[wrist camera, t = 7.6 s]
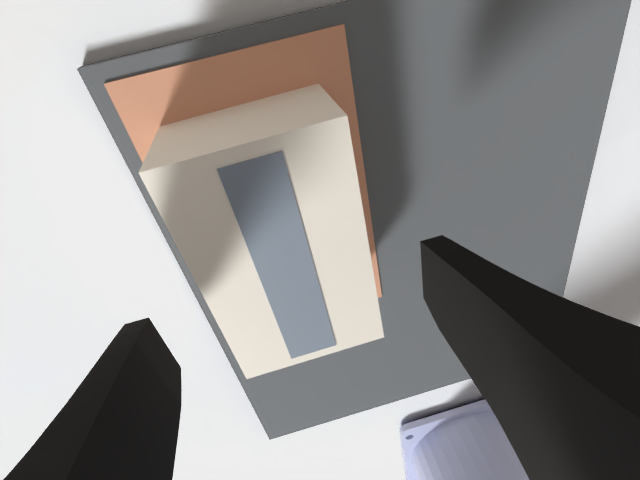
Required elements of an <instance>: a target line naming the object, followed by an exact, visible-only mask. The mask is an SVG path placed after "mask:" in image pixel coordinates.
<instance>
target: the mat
mask: <svg viewBox="0 0 640 480" xmlns="http://www.w3.org/2000/svg"><path fill="white" fill-rule="evenodd" d="M630 4H631V0H350V1H346V2H342V3H338V4H334V5H329V6H325V7H321V8H317V9H313V10H309V11H305V12H301V13H297V14H293V15H289V16H285V17H280V18H276V19H272V20H268V21H264V22H260V23H256V24H252V25H248V26H244V27H240V28H236V29H232V30H227V31H223V32H219V33H215V34H211V35H207V36H203V37H199V38H195V39H191V40H187V41H183V42H178V43H174V44H170V45H166V46H162V47H158V48H154V49H150V50H146V51H142V52H138V53H134V54H129V55H125V56H121V57H117V58H113V59H109V60H105V61H101V62H97V63H93V64H89V65H85V66H81V67H79V68H78V69H77V70H78V71H79V73H80V75H81V77H82V79H83V81H84V83H85V85H86V87H87V89H88V91H89V93H90V95H91V96H92V98H93V100H94V102H95V104H96V106H97V108H98V110H99V112H100V114H101V116H102V118H103V120H104V121H105V123H106V125H107V127H108V129H109V131H110V133H111V135H112V137H113V139H114V141H115V143H116V145H117V146H118V148H119V150H120V152H121V154H122V156H123V158H124V160H125V162H126V164H127V166H128V168H129V170H130V172H131V173H132V175H133V177H134V179H135V181H136V183H137V185H138V187H139V189H140V191H141V193H142V195H143V197H144V198H145V200H146V202H147V204H148V206H149V208H150V210H151V212H152V214H153V216H154V218H155V220H156V222H157V223H158V225H159V227H160V229H161V231H162V233H163V235H164V237H165V239H166V241H167V243H168V245H169V247H170V248H171V250H172V252H173V254H174V256H175V258H176V260H177V262H178V264H179V266H180V268H181V270H182V272H183V273H184V275H185V277H186V279H187V281H188V283H189V285H190V287H191V289H192V291H193V293H194V295H195V297H196V299H197V300H198V302H199V304H200V306H201V308H202V310H203V312H204V314H205V316H206V318H207V320H208V322H209V324H210V325H211V327H212V329H213V331H214V333H215V335H216V337H217V339H218V341H219V343H220V345H221V347H222V349H223V350H224V352H225V354H226V356H227V358H228V360H229V362H230V364H231V366H232V368H233V370H234V372H235V374H236V375H237V377H238V379H239V381H240V383H241V385H242V387H243V389H244V391H245V393H246V395H247V397H248V399H249V401H250V402H251V404H252V406H253V408H254V410H255V412H256V414H257V416H258V418H259V420H260V422H261V424H262V426H263V427H264V429H265V431H266V433H267V435H268V437H269V439H273V438H277V437H280V436H283V435H287V434H290V433H293V432H296V431H300V430H303V429H306V428H309V427H313V426H316V425H319V424H323V423H326V422H329V421H332V420H336V419H339V418H342V417H346V416H349V415H352V414H355V413H359V412H362V411H365V410H368V409H372V408H375V407H378V406H382V405H385V404H388V403H391V402H395V401H398V400H401V399H405V398H408V397H411V396H414V395H418V394H421V393H424V392H427V391H431V390H434V389H437V388H441V387H444V386H447V385H450V384H454V383H457V382H460V381H464V380H467V379H470V378H471V377H470V376H469V374H468V373H467V371H466V370H465V368H464V367H463V365H462V364H461V362H460V361H459V359H458V358H457V356H456V355H455V353H454V352H453V350H452V349H451V347H450V346H449V344H448V342H447V341H446V339H445V338H444V336H443V335H442V333H441V332H440V330H439V328H438V326H437V324H436V322H435V320H434V318H433V317H432V315H431V312H430V310H429V308H428V306H427V304H426V302H425V300H424V298H423V283H422V265H421V247H420V241H423V240H426V239H430V238H433V237H437V236H440V235H443V236H445V237H447V238H449V239H451V240H452V241H454V242H456V243H458V244H459V245H461V246H463V247H465V248H467V249H468V250H470V251H472V252H474V253H475V254H477V255H479V256H481V257H483V258H484V259H486V260H488V261H490V262H492V263H493V264H495V265H497V266H499V267H501V268H503V269H505V270H507V271H508V272H510V273H512V274H514V275H516V276H518V277H520V278H522V279H524V280H526V281H528V282H530V283H532V284H534V285H537V286H539V287H541V288H543V289H545V290H547V291H549V292H552V293H554V294H556V295H558V296H560V297H563V294H564V290H565V286H566V281H567V277H568V273H569V268H570V264H571V260H572V255H573V251H574V247H575V242H576V238H577V234H578V229H579V225H580V221H581V216H582V212H583V208H584V203H585V199H586V195H587V190H588V186H589V182H590V177H591V173H592V169H593V164H594V160H595V156H596V151H597V147H598V143H599V138H600V134H601V130H602V125H603V121H604V117H605V112H606V108H607V104H608V99H609V95H610V91H611V86H612V82H613V78H614V73H615V69H616V65H617V60H618V56H619V52H620V47H621V43H622V39H623V34H624V30H625V26H626V21H627V17H628V13H629V9H630ZM318 83H319V85H320V86H321V87H322V88H323V89H324V90H325V91H326V92H327V93H328V94H329V96H330V97H331V98H332V99H333V100H334V101H335V102H336V103H337V104H338V106H339V107H340V108H341V109H342V110H343V111H344V112H345V113H346V114H347V116H348V122H349V128H350V134H351V140H352V146H353V152H354V158H355V164H356V170H357V176H358V182H359V188H360V194H361V200H362V206H363V212H364V219H365V225H366V231H367V237H368V243H369V249H370V255H371V261H372V267H373V273H374V279H375V285H376V291H377V297H378V303H379V309H380V315H381V321H382V327H383V333H384V338H380V339H377V340H374V341H371V342H367V343H364V344H361V345H358V346H354V347H351V348H348V349H344V350H341V351H338V352H335V353H331V354H328V355H325V356H321V357H318V358H315V359H312V360H308V361H305V362H302V363H298V364H295V365H292V366H289V367H285V368H282V369H279V370H275V371H272V372H269V373H266V374H262V375H259V376H256V377H253V378H249V379H246V377H245V375H244V373H243V371H242V369H241V368H240V366H239V364H238V362H237V360H236V358H235V356H234V354H233V352H232V350H231V349H230V347H229V345H228V343H227V341H226V339H225V337H224V335H223V333H222V331H221V329H220V328H219V326H218V324H217V322H216V320H215V318H214V316H213V314H212V312H211V310H210V308H209V307H208V305H207V303H206V301H205V299H204V297H203V295H202V293H201V291H200V289H199V288H198V286H197V284H196V282H195V280H194V278H193V276H192V274H191V272H190V270H189V268H188V267H187V265H186V263H185V261H184V259H183V257H182V255H181V253H180V251H179V249H178V247H177V246H176V244H175V242H174V240H173V238H172V236H171V234H170V232H169V230H168V228H167V227H166V225H165V223H164V221H163V219H162V217H161V215H160V213H159V211H158V209H157V207H156V206H155V204H154V202H153V200H152V198H151V196H150V194H149V192H148V190H147V188H146V186H145V185H144V183H143V181H142V179H141V177H140V175H139V170H140V168H141V166H142V164H143V162H144V159H145V157H146V155H147V153H148V151H149V148H150V146H151V144H152V142H153V140H154V137H155V135H156V133H157V131H158V129H159V126H163V125H167V124H170V123H174V122H178V121H181V120H185V119H189V118H192V117H196V116H200V115H204V114H207V113H211V112H215V111H218V110H222V109H226V108H229V107H233V106H237V105H240V104H244V103H248V102H252V101H255V100H259V99H263V98H266V97H270V96H274V95H277V94H281V93H285V92H289V91H292V90H296V89H300V88H303V87H307V86H311V85H314V84H318Z"/></svg>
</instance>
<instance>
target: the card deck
mask: <svg viewBox="0 0 640 480" xmlns="http://www.w3.org/2000/svg"><path fill="white" fill-rule="evenodd" d="M139 175H140V177H141V179H142V181H143V183H144V185H145V186H146V188H147V190H148V192H149V194H150V196H151V198H152V200H153V202H154V204H155V206H156V207H157V209H158V211H159V213H160V215H161V217H162V219H163V221H164V223H165V225H166V227H167V228H168V230H169V232H170V234H171V236H172V238H173V240H174V242H175V244H176V246H177V247H178V249H179V251H180V253H181V255H182V257H183V259H184V261H185V263H186V265H187V267H188V268H189V270H190V272H191V274H192V276H193V278H194V280H195V282H196V284H197V286H198V288H199V289H200V291H201V293H202V295H203V297H204V299H205V301H206V303H207V305H208V307H209V308H210V310H211V312H212V314H213V316H214V318H215V320H216V322H217V324H218V326H219V328H220V329H221V331H222V333H223V335H224V337H225V339H226V341H227V343H228V345H229V347H230V349H231V350H232V352H233V354H234V356H235V358H236V360H237V362H238V364H239V366H240V368H241V369H242V371H243V373H244V375H245V377H246V379H249V378H253V377H256V376H259V375H262V374H266V373H269V372H272V371H275V370H279V369H282V368H285V367H289V366H292V365H295V364H298V363H302V362H305V361H308V360H312V359H315V358H318V357H321V356H325V355H328V354H331V353H335V352H338V351H341V350H344V349H348V348H351V347H354V346H358V345H361V344H364V343H367V342H371V341H374V340H377V339H380V338H384V333H383V327H382V321H381V315H380V309H379V303H378V297H377V291H376V285H375V279H374V273H373V267H372V261H371V255H370V249H369V243H368V237H367V231H366V225H365V219H364V212H363V206H362V200H361V194H360V188H359V182H358V176H357V170H356V164H355V158H354V152H353V146H352V140H351V134H350V128H349V122H348V116H347V114H346V113H345V112H344V111H343V110H342V109H341V108H340V107H339V106H338V104H337V103H336V102H335V101H334V100H333V99H332V98H331V97H330V96H329V94H328V93H327V92H326V91H325V90H324V89H323V88H322V87H321V86H320V85H319V83H318V84H314V85H311V86H307V87H303V88H300V89H296V90H292V91H289V92H285V93H281V94H277V95H274V96H270V97H266V98H263V99H259V100H255V101H252V102H248V103H244V104H240V105H237V106H233V107H229V108H226V109H222V110H218V111H215V112H211V113H207V114H204V115H200V116H196V117H192V118H189V119H185V120H181V121H178V122H174V123H170V124H167V125H163V126H159V129H158V131H157V133H156V135H155V137H154V140H153V142H152V144H151V146H150V148H149V151H148V153H147V155H146V157H145V159H144V162H143V164H142V166H141V168H140V170H139Z"/></svg>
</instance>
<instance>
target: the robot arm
mask: <svg viewBox="0 0 640 480" xmlns="http://www.w3.org/2000/svg"><path fill="white" fill-rule="evenodd" d="M420 247H421V265H422V283H423V298H424V300H425V302H426V304H427V306H428V308H429V310H430V312H431V315H432V317H433V318H434V320H435V322H436V324H437V326H438V328H439V330H440V332H441V333H442V335H443V336H444V338H445V339H446V341H447V342H448V344H449V346H450V347H451V349H452V350H453V352H454V353H455V355H456V356H457V358H458V359H459V361H460V362H461V364H462V365H463V367H464V368H465V370H466V371H467V373H468V374H469V376H470V377H471V379H472V380H473V382H474V383H475V385H476V386H477V388H478V389H479V391H480V392H481V394H482V395H483V397H484V398H485V399H484V400H481V401H477V402H474V403H471V404H468V405H464V406H461V407H458V408H455V409H451V410H448V411H445V412H442V413H438V414H435V415H432V416H429V417H425V418H422V419H419V420H416V421H413V422H409V423H406V424H404V425H402V426H401V428H400V436H401V444H402V451H403V458H404V465H405V472H406V479H407V480H640V327H639V326H636V325H633V324H630V323H627V322H624V321H621V320H618V319H616V318H613V317H610V316H608V315H605V314H602V313H600V312H597V311H595V310H592V309H590V308H587V307H584V306H582V305H579V304H577V303H574V302H572V301H570V300H567V299H565V298H563V297H560V296H558V295H556V294H554V293H552V292H549V291H547V290H545V289H543V288H541V287H539V286H537V285H534V284H532V283H530V282H528V281H526V280H524V279H522V278H520V277H518V276H516V275H514V274H512V273H510V272H508V271H507V270H505V269H503V268H501V267H499V266H497V265H495V264H493V263H492V262H490V261H488V260H486V259H484V258H483V257H481V256H479V255H477V254H475V253H474V252H472V251H470V250H468V249H467V248H465V247H463V246H461V245H459V244H458V243H456V242H454V241H452V240H451V239H449V238H447V237H445V236H443V235H440V236H437V237H433V238H430V239H426V240H423V241H420ZM180 412H181V367H180V366H179V364H178V363H177V361H176V360H175V358H174V356H173V355H172V353H171V352H170V350H169V349H168V347H167V345H166V344H165V342H164V341H163V339H162V338H161V336H160V335H159V333H158V331H157V330H156V328H155V327H154V325H153V324H152V322H151V320H150V319H149V318H146V319H142V320H139V321H135V322H132V323H128V324H125V325H124V326H123V327H122V329H121V330H120V331H119V332H118V334H117V335H116V336H115V338H114V339H113V341H112V342H111V343H110V345H109V346H108V347H107V349H106V350H105V352H104V353H103V354H102V356H101V357H100V358H99V360H98V361H97V363H96V364H95V365H94V367H93V368H92V370H91V371H90V372H89V374H88V375H87V376H86V378H85V379H84V380H83V382H82V383H81V384H80V386H79V387H78V389H77V390H76V391H75V393H74V394H73V395H72V397H71V398H70V399H69V401H68V402H67V403H66V405H65V406H64V407H63V408H62V410H61V411H60V412H59V413H58V415H57V416H56V417H55V418H54V420H53V421H52V422H51V423H50V425H49V426H48V427H47V429H46V430H45V431H44V432H43V434H42V435H41V436H40V437H39V439H38V440H37V441H36V442H35V444H34V445H33V446H32V447H31V449H30V450H29V451H28V452H27V453H26V454H25V456H24V457H23V458H22V459H21V460H20V462H19V463H18V464H17V465H16V466H15V467H14V468H13V470H12V471H11V472H10V473H9V474H8V475H7V476H6V477H5V479H4V480H172V477H173V469H174V461H175V453H176V445H177V438H178V429H179V421H180Z"/></svg>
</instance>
